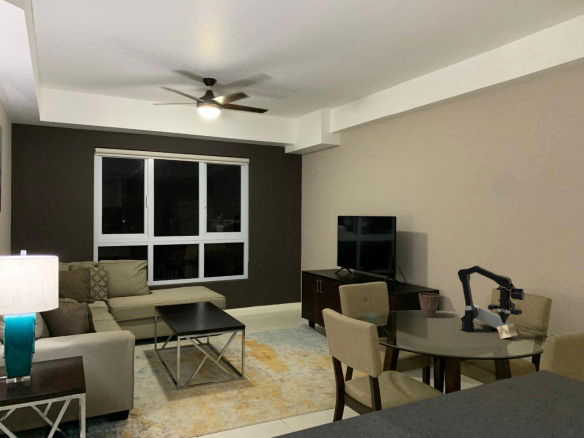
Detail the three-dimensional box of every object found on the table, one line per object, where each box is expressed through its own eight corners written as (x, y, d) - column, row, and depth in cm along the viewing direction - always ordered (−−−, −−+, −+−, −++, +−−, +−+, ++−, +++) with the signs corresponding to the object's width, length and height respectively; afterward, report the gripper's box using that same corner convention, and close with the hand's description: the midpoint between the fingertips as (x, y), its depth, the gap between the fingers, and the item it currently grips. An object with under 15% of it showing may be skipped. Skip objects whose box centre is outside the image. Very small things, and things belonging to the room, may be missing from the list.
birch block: (496, 327, 272) (506, 324, 267) (502, 325, 276) (513, 323, 271) (500, 338, 270) (511, 336, 265) (507, 337, 274) (517, 334, 269)
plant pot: (425, 313, 334) (425, 291, 334) (443, 317, 323) (444, 294, 323) (414, 316, 324) (414, 293, 324) (432, 320, 313) (433, 297, 313)
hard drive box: (510, 321, 284) (480, 308, 286) (505, 332, 284) (475, 319, 286) (501, 316, 299) (473, 303, 301) (496, 326, 300) (468, 314, 302)
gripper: (527, 299, 269) (526, 325, 269) (497, 294, 284) (497, 318, 284) (517, 301, 262) (516, 327, 262) (487, 295, 278) (486, 320, 278)
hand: (504, 323), depth 272 cm, fingers closed
